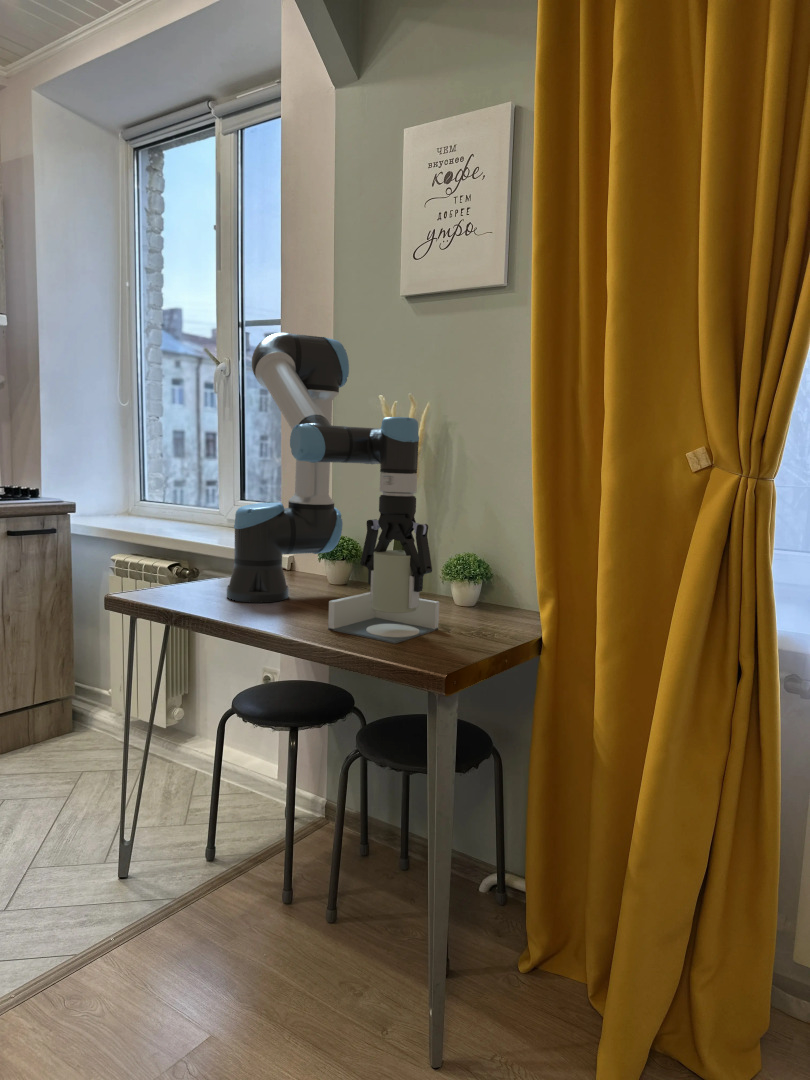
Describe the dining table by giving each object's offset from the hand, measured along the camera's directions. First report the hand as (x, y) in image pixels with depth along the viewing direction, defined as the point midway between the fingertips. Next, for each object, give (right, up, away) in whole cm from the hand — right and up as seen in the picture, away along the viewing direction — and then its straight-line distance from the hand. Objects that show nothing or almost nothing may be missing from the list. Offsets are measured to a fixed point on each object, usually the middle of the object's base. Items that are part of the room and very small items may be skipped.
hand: (394, 603), depth 152 cm
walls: (-2, -6, +3) cm, 7 cm away
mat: (-2, -6, +3) cm, 7 cm away
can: (0, -1, 0) cm, 1 cm away
